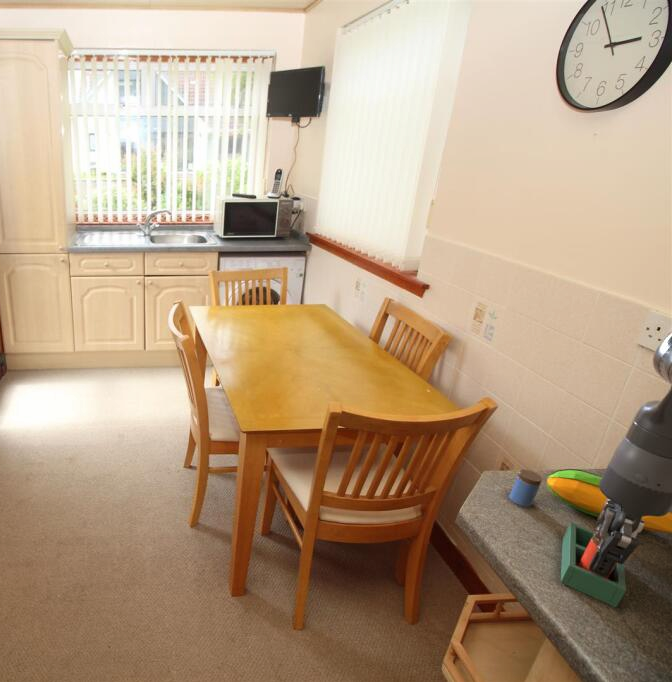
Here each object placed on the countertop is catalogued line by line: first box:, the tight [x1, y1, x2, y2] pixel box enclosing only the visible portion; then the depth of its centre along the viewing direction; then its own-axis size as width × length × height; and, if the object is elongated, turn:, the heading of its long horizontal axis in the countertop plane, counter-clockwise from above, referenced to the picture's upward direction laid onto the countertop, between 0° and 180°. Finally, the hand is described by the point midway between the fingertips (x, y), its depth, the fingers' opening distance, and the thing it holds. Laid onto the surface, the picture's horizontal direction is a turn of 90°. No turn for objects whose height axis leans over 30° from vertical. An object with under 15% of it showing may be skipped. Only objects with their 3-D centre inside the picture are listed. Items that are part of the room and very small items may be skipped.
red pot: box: [579, 531, 617, 579], centre depth 72 cm, size 4×4×6 cm
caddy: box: [560, 521, 627, 608], centre depth 76 cm, size 7×12×4 cm, turn 140°
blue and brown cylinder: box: [508, 468, 543, 508], centre depth 91 cm, size 4×4×6 cm
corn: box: [546, 468, 672, 534], centre depth 87 cm, size 7×8×20 cm
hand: (597, 563), depth 73 cm, fingers closed on red pot, 3 cm apart
